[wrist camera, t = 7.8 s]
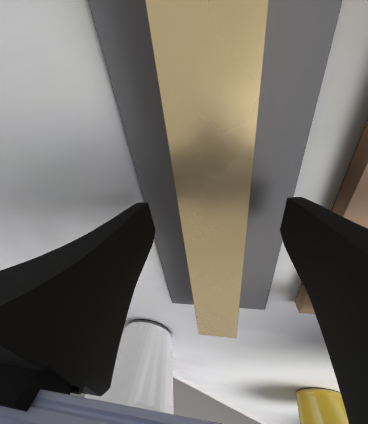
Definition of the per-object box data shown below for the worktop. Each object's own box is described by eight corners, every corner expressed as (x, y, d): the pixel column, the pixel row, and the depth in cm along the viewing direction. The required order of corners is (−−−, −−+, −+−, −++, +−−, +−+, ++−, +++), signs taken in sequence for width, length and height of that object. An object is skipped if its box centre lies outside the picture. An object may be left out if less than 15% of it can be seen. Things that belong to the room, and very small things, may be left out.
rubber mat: (263, 305, 17) (265, 309, 17) (173, 299, 18) (172, 302, 18) (404, -285, 4) (422, -320, 4) (57, -133, 5) (47, -147, 5)
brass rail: (232, 301, 17) (236, 338, 14) (200, 299, 17) (198, 334, 15) (258, -159, 5) (311, -447, 2) (151, -119, 5) (95, -311, 3)
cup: (154, 303, 20) (116, 436, 12) (200, 342, 24) (194, 461, 16) (99, 317, 24) (44, 424, 16) (146, 348, 28) (121, 445, 20)
